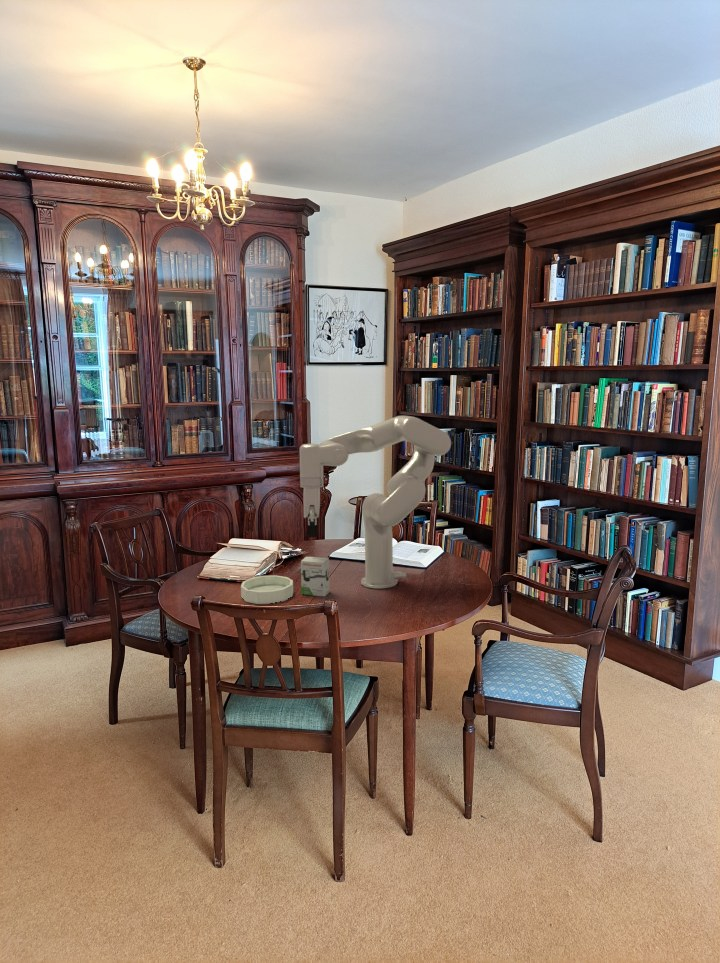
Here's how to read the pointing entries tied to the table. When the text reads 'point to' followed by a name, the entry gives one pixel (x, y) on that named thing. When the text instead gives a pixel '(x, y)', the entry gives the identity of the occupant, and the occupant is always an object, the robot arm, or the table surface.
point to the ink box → (315, 576)
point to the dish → (267, 589)
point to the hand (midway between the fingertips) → (312, 533)
